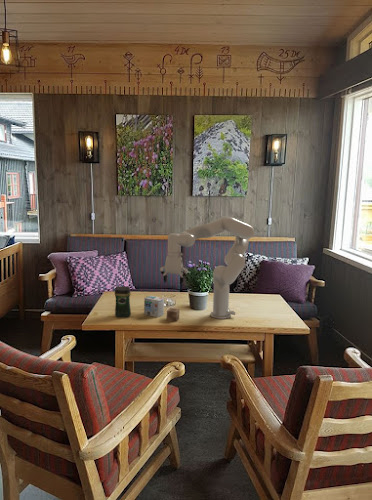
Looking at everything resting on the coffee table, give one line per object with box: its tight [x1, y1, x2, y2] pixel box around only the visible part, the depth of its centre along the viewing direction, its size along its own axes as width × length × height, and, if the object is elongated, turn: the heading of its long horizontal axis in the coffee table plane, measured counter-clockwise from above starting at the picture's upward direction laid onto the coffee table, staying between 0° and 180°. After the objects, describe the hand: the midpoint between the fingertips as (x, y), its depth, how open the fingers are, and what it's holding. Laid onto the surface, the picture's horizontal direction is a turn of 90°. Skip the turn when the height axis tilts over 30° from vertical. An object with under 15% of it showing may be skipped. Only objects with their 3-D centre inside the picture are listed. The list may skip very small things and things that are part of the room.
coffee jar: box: [114, 285, 132, 319], centre depth 247 cm, size 10×8×19 cm
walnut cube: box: [166, 307, 180, 323], centre depth 244 cm, size 6×6×6 cm
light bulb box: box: [143, 295, 165, 318], centre depth 252 cm, size 11×7×11 cm, turn 62°
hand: (173, 282), depth 241 cm, fingers open, 9 cm apart
